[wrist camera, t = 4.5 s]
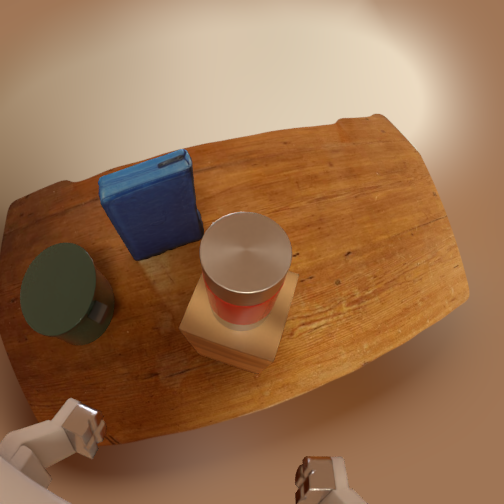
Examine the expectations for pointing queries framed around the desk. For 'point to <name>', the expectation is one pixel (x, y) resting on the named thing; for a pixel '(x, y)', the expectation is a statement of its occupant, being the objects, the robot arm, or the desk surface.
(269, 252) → the can
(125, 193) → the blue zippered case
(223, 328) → the block
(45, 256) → the pot
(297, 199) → the desk surface
